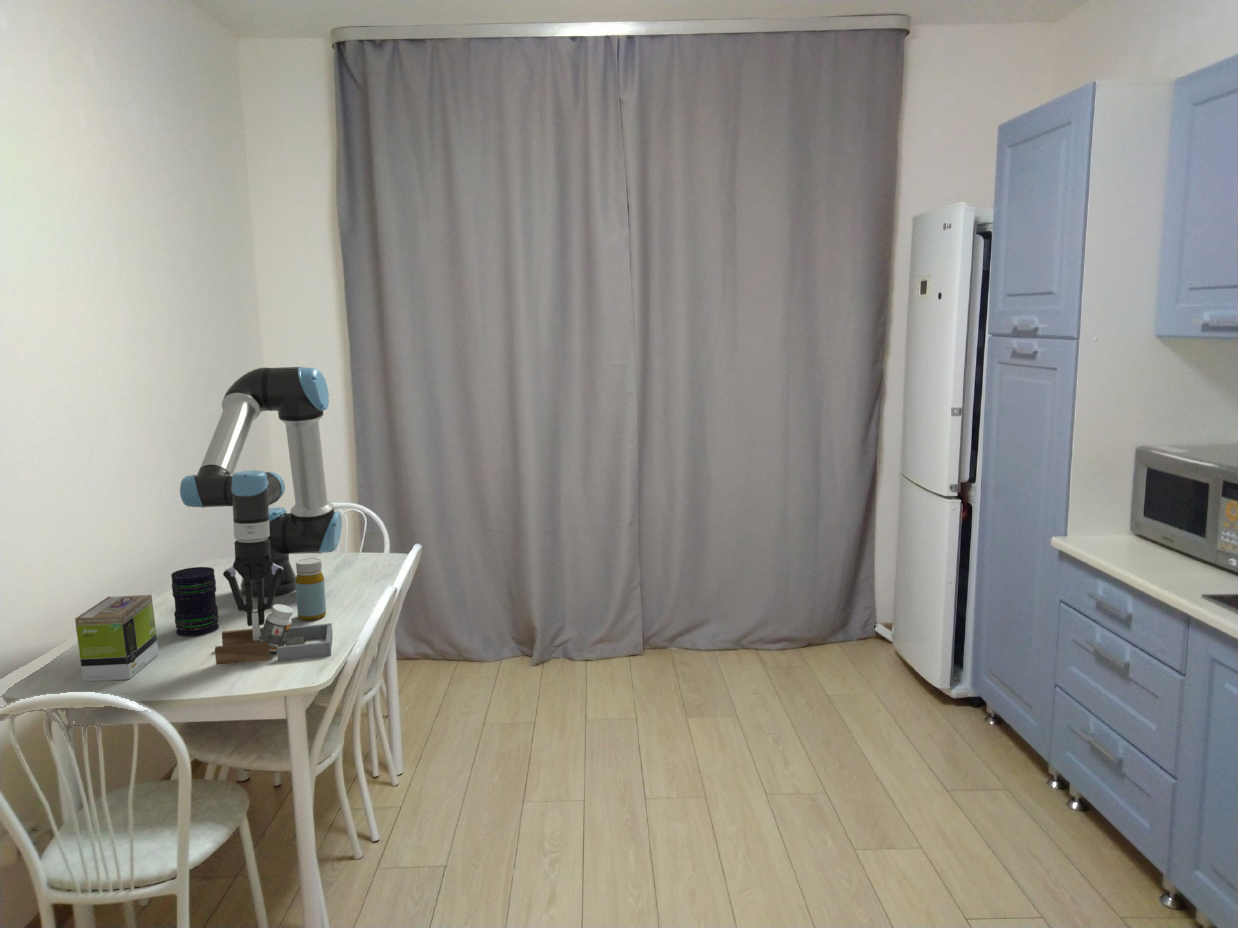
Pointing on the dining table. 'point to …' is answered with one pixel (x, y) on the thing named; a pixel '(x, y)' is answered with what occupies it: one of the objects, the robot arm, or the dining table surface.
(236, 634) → the slot
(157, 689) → the dining table surface
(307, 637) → the frame
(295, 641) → the grey square block
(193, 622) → the dark blue canister
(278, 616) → the pill bottle
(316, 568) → the bottle
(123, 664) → the tea box
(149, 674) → the dining table surface
